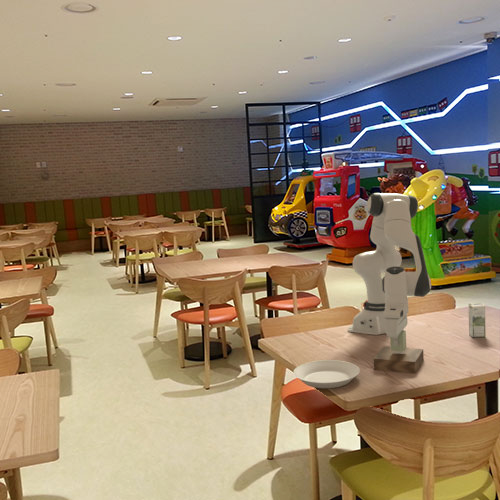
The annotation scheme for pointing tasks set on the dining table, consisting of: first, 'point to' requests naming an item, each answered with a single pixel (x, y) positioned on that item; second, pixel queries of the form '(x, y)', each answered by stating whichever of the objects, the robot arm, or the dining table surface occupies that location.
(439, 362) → the dining table surface
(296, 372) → the white plate
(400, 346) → the sage block
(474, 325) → the syrup box
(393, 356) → the walnut block
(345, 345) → the dining table surface
